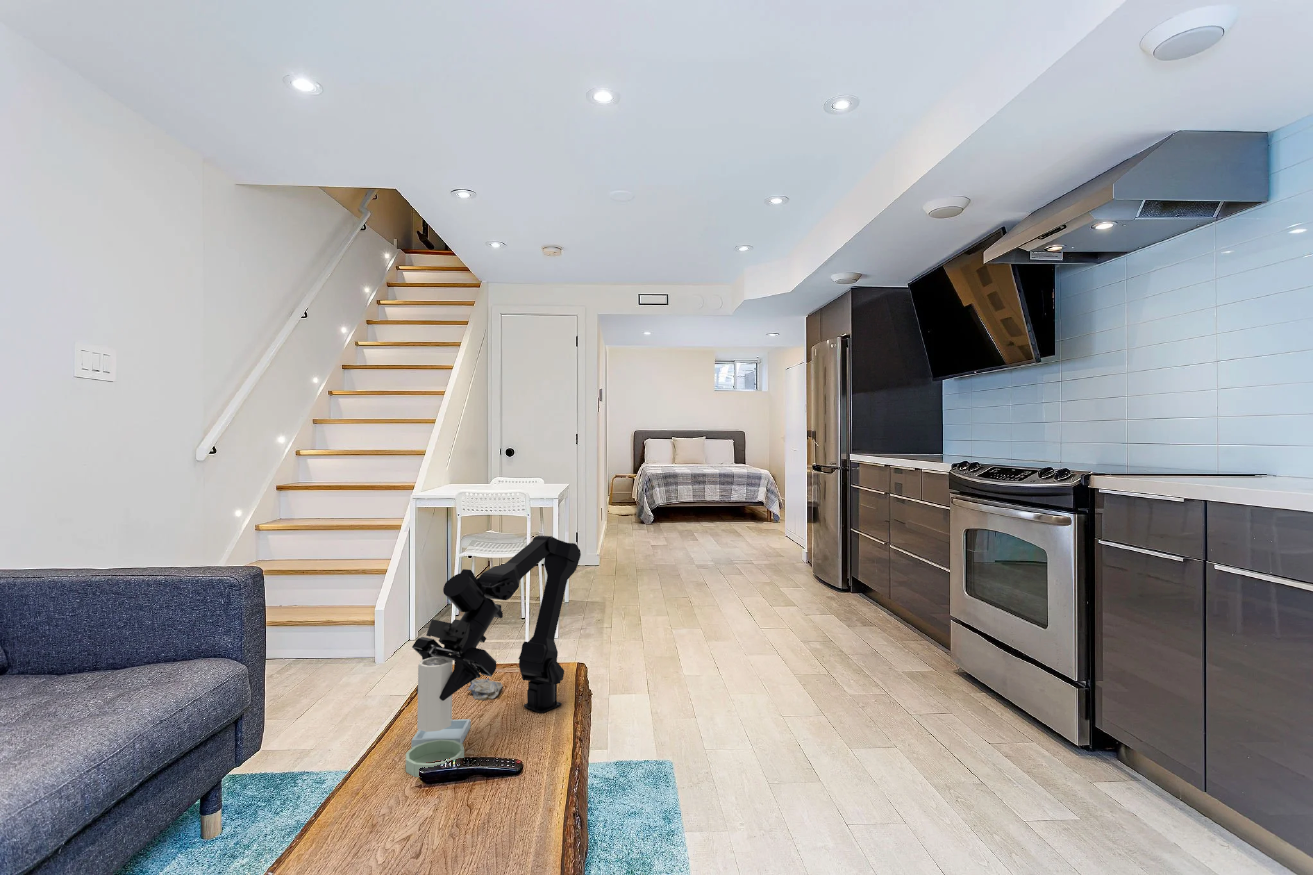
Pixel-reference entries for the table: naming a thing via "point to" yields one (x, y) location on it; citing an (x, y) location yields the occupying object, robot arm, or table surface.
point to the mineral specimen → (484, 689)
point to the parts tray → (444, 733)
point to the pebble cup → (434, 694)
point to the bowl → (432, 754)
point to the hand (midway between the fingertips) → (429, 696)
